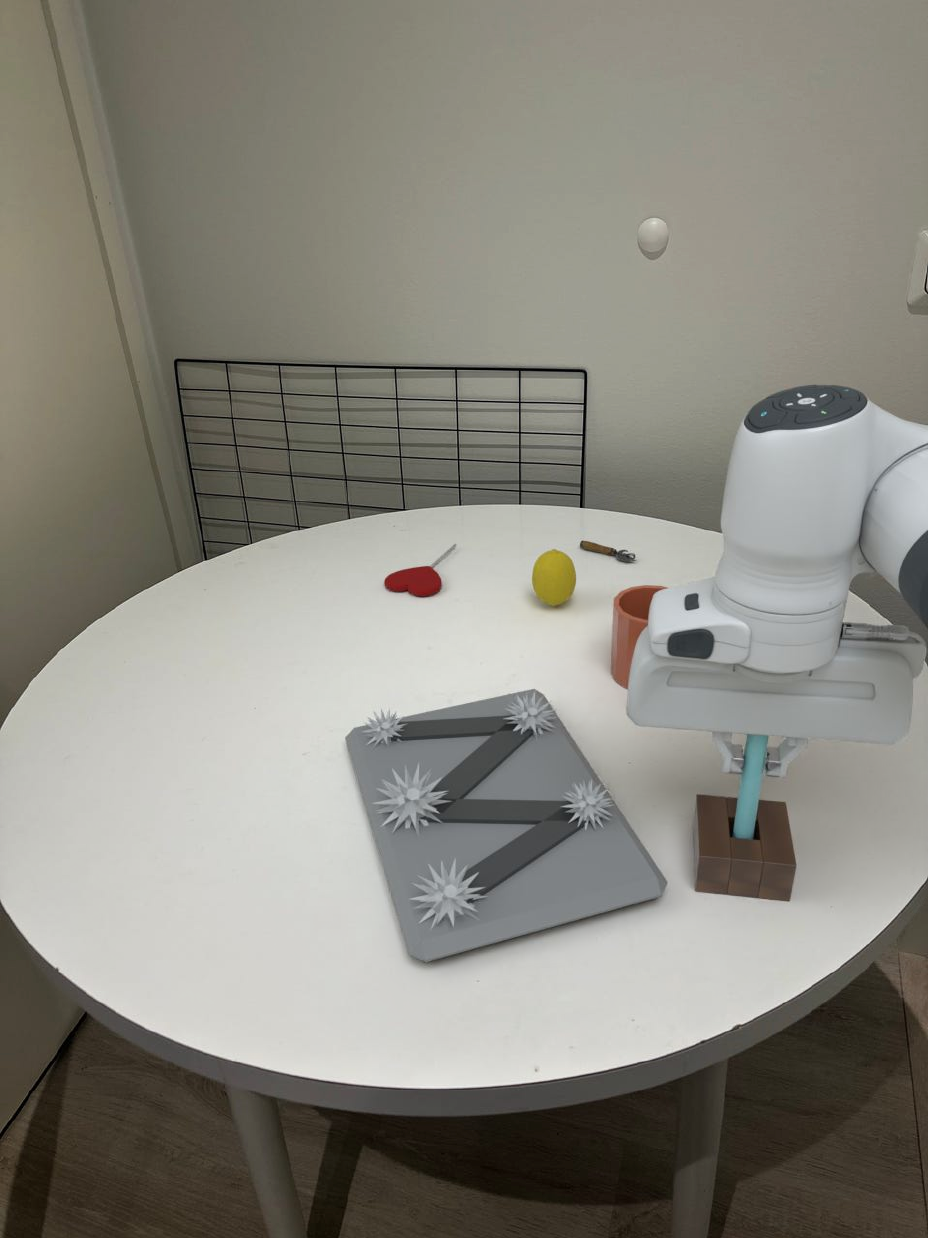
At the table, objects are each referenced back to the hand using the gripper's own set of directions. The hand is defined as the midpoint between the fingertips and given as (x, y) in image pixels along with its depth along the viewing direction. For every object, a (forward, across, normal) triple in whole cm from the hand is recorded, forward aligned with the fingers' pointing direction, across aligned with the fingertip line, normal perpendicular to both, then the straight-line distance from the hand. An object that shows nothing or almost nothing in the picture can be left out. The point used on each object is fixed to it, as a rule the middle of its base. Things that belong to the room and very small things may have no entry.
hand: (752, 770), depth 71 cm
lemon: (+10, +20, -42) cm, 48 cm away
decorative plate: (+10, +22, -3) cm, 24 cm away
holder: (+10, 0, 0) cm, 10 cm away
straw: (+10, 0, 0) cm, 10 cm away
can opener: (+10, +14, -57) cm, 60 cm away
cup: (+10, +8, -28) cm, 31 cm away
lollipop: (+10, +38, -50) cm, 64 cm away
